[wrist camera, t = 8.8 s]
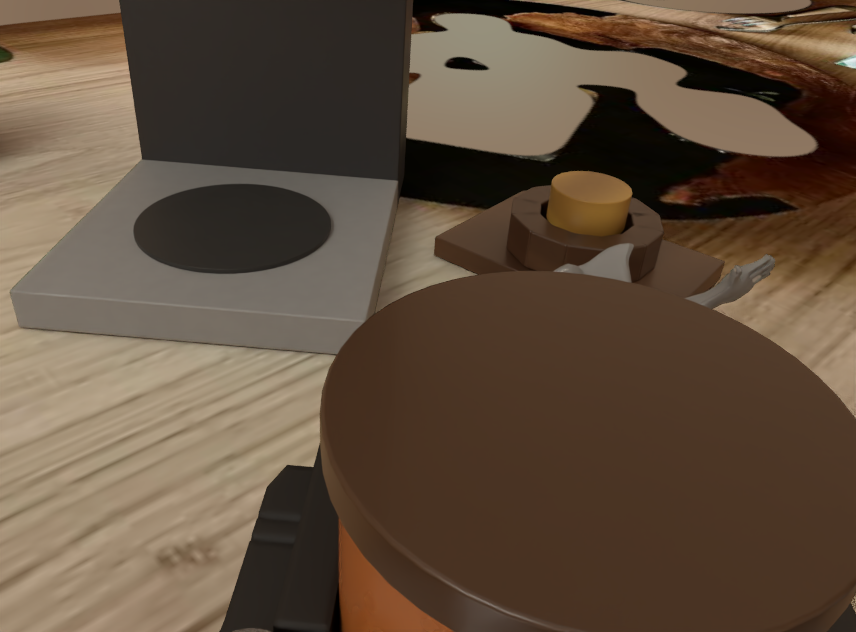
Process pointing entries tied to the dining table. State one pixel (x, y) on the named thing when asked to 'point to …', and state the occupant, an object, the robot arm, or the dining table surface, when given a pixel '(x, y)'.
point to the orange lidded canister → (583, 466)
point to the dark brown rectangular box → (243, 179)
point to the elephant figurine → (728, 290)
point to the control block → (573, 245)
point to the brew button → (589, 203)
